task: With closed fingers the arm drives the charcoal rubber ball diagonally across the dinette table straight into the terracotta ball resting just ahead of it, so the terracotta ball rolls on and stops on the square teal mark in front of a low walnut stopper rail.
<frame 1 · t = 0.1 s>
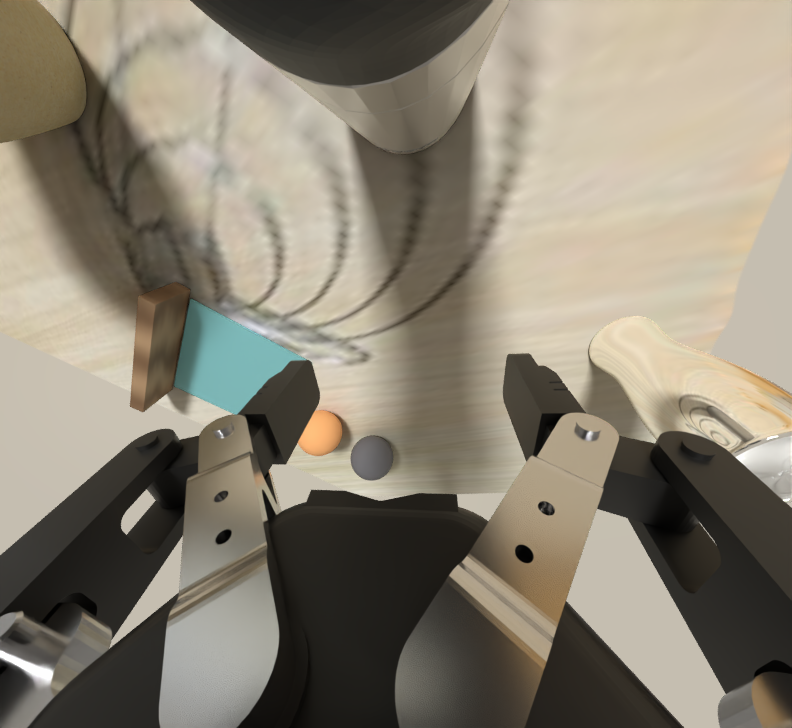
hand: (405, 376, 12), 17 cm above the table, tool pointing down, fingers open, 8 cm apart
charcoal ball: (372, 457, 37), on the table
terracotta ball: (319, 432, 35), on the table
plant pot: (38, 58, 21), on the table
walnut stopper: (173, 342, 33), on the table
beer glass: (621, 343, 28), on the table
teal mark: (239, 374, 35), on the table
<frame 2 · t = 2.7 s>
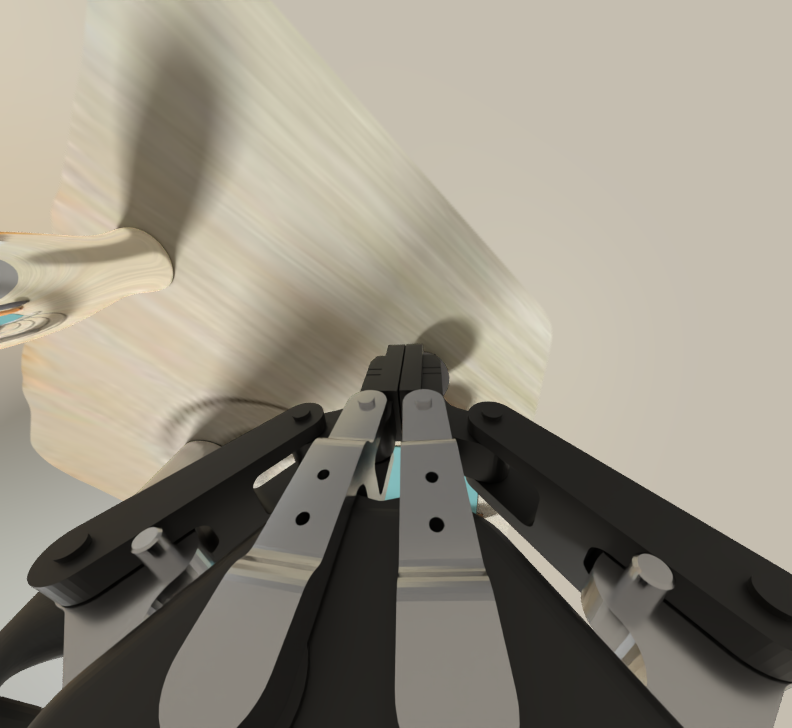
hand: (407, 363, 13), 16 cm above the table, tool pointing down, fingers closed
charcoal ball: (422, 378, 29), on the table
beer glass: (145, 259, 29), on the table
teal mark: (428, 481, 41), on the table
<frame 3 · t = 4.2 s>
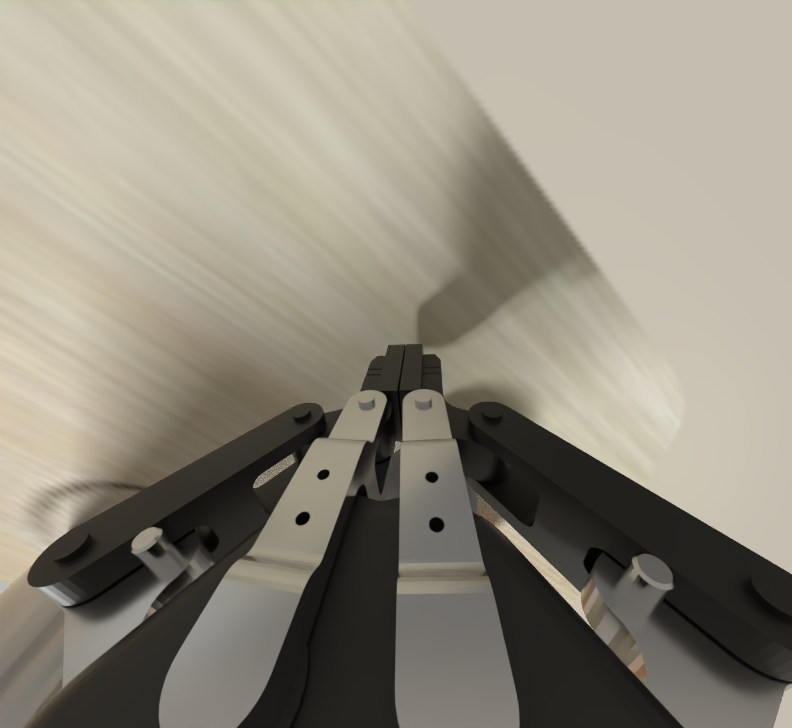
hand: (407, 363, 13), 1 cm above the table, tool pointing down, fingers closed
charcoal ball: (423, 497, 15), on the table
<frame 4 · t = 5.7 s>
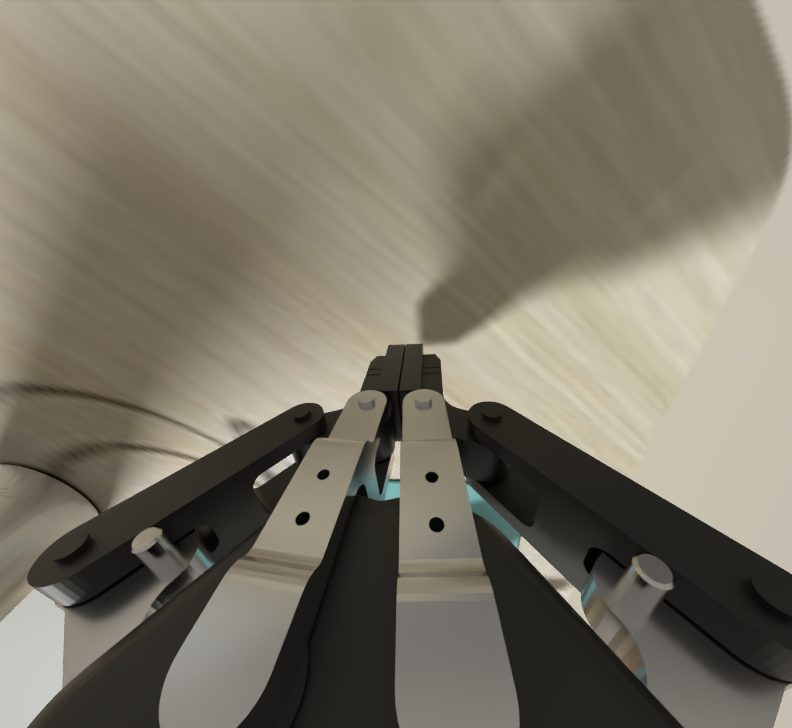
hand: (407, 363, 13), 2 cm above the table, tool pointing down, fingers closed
teal mark: (423, 539, 22), on the table
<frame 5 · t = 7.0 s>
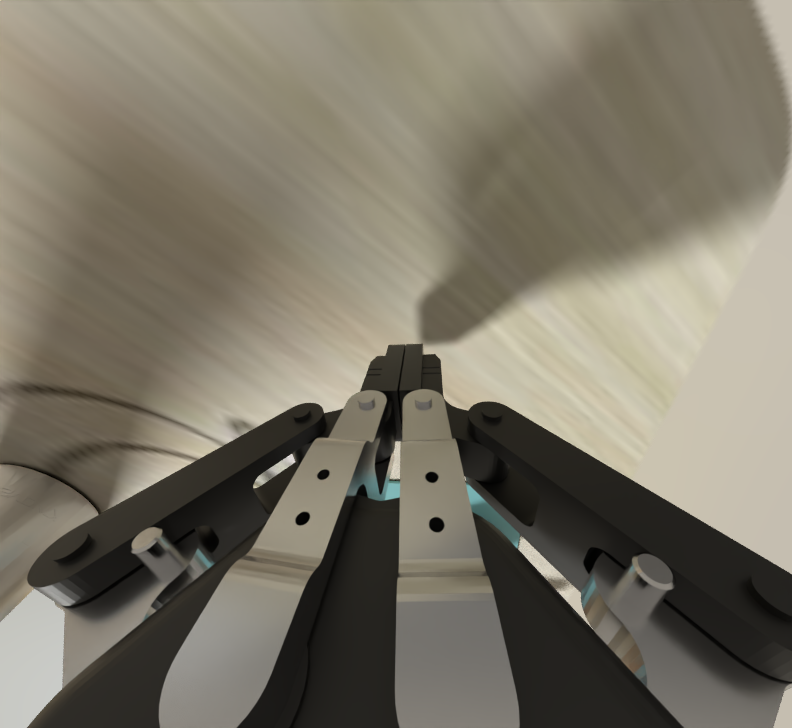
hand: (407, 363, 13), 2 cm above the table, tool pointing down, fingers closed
teal mark: (423, 539, 22), on the table
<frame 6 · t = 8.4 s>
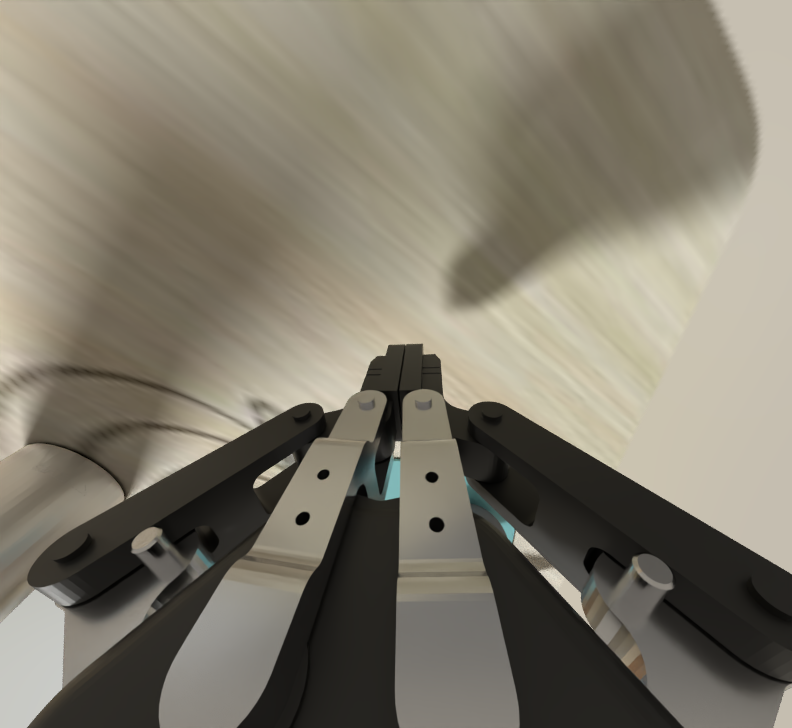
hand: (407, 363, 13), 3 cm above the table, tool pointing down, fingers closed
charcoal ball: (469, 545, 20), on the table
teal mark: (428, 517, 24), on the table
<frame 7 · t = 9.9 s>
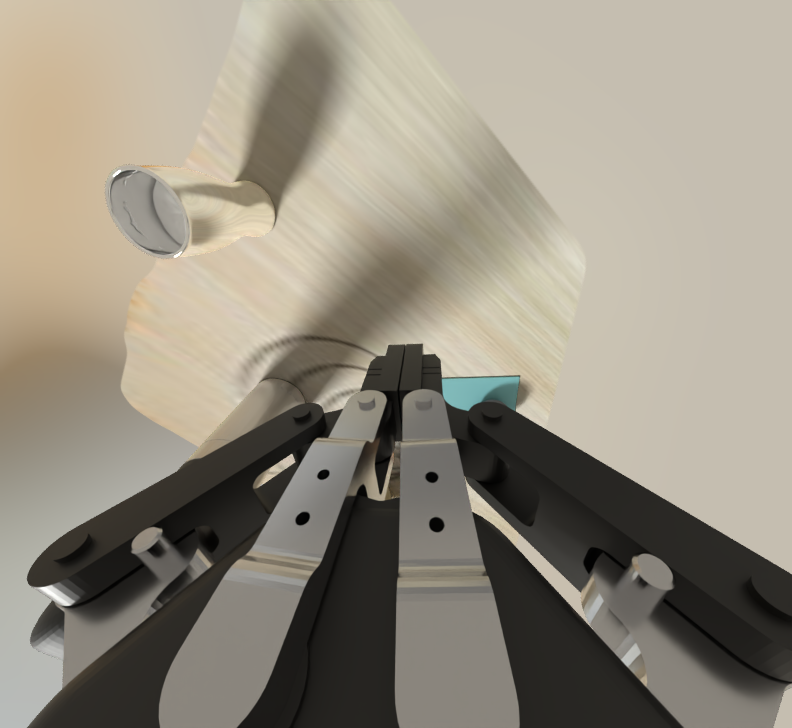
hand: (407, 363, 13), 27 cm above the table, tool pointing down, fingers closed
beer glass: (252, 209, 35), on the table
teal mark: (470, 412, 47), on the table
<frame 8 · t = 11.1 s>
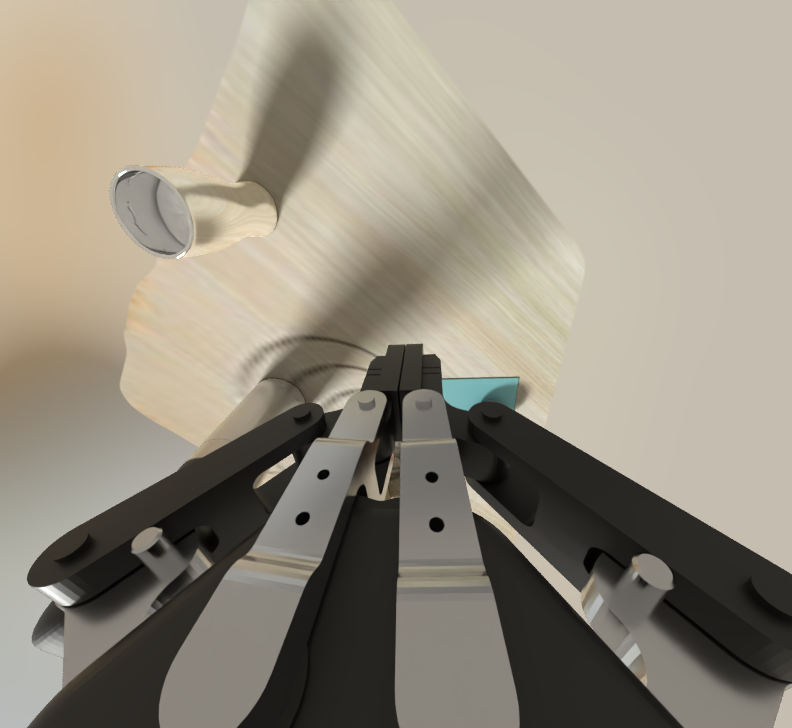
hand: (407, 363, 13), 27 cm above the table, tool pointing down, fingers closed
beer glass: (254, 210, 35), on the table
teal mark: (469, 413, 47), on the table
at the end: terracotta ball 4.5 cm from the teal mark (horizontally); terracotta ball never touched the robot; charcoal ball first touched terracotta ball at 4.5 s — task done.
